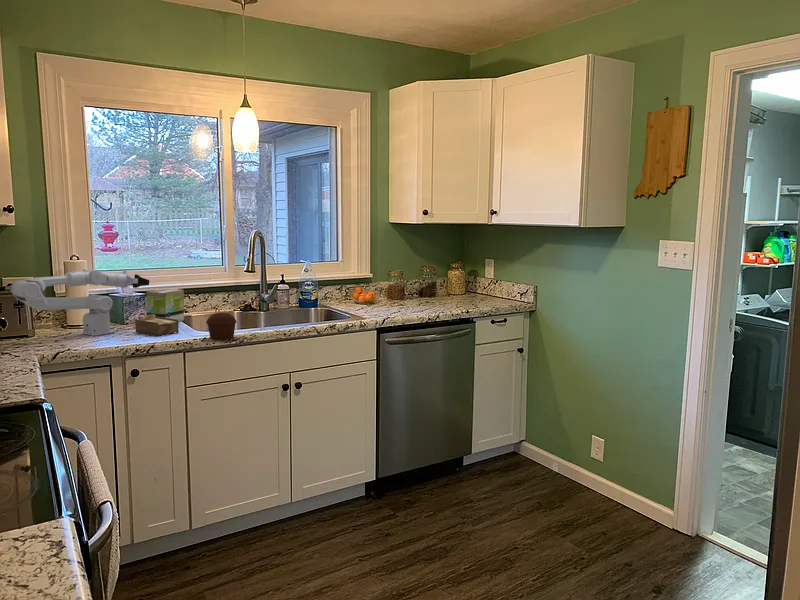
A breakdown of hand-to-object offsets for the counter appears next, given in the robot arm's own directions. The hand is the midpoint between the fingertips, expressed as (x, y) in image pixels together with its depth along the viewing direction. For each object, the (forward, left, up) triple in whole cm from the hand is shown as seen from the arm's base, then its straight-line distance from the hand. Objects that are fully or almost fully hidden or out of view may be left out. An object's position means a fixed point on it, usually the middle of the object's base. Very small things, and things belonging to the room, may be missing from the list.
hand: (143, 282), depth 263 cm
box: (-6, -16, -19) cm, 26 cm away
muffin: (+2, -45, -20) cm, 49 cm away
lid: (-6, -16, -15) cm, 23 cm away
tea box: (+13, +3, -20) cm, 24 cm away
